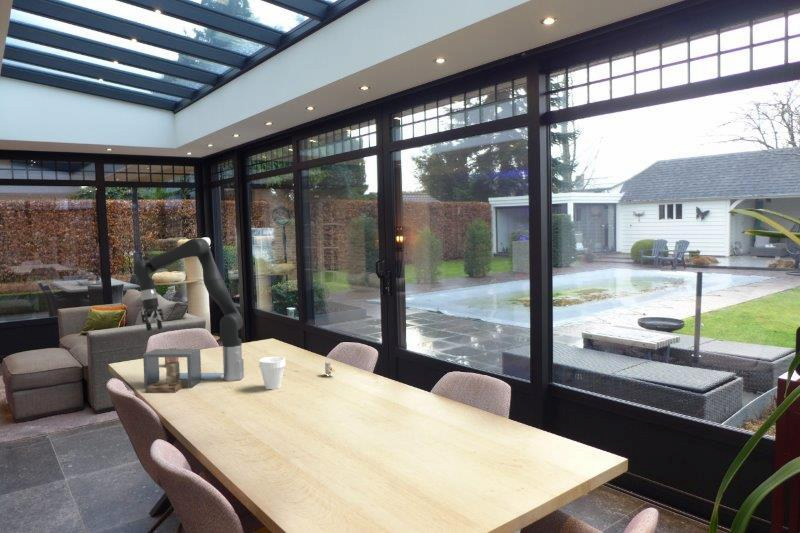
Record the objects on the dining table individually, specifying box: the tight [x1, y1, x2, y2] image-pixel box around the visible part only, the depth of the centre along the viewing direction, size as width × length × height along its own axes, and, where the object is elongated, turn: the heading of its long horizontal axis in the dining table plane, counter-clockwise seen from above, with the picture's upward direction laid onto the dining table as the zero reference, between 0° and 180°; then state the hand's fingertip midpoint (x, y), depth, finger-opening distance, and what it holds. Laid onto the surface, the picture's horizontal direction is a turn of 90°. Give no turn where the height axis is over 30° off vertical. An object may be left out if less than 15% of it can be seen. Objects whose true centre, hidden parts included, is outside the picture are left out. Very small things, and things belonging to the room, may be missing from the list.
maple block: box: [165, 361, 181, 383], centre depth 276 cm, size 4×4×11 cm
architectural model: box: [324, 361, 337, 376], centre depth 289 cm, size 3×7×7 cm, turn 27°
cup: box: [258, 356, 286, 390], centre depth 268 cm, size 12×12×14 cm
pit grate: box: [145, 382, 183, 394], centre depth 266 cm, size 14×7×2 cm, turn 87°
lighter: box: [164, 347, 180, 368], centre depth 316 cm, size 8×3×10 cm, turn 143°
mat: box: [165, 372, 224, 381], centre depth 291 cm, size 26×12×1 cm, turn 87°
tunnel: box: [142, 348, 202, 389], centre depth 276 cm, size 23×12×16 cm, turn 87°
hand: (155, 329), depth 288 cm, fingers open, 8 cm apart
